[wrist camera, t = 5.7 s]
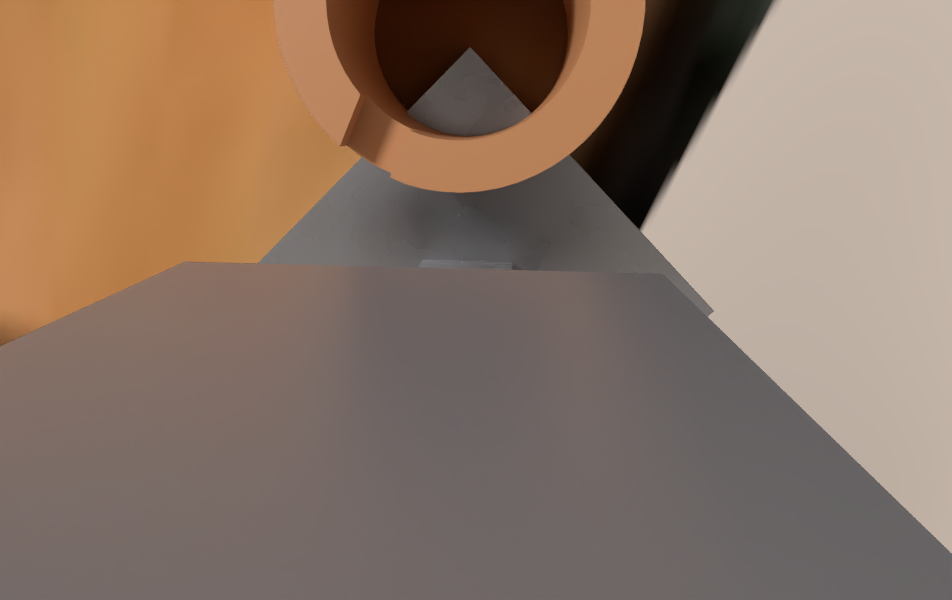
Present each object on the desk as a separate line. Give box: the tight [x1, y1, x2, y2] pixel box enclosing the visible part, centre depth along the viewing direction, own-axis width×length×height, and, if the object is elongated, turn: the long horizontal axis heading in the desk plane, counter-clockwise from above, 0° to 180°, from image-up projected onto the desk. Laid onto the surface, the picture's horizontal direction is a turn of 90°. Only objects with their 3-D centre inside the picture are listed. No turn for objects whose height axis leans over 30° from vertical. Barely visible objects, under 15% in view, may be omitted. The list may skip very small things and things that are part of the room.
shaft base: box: [258, 47, 713, 316], centre depth 22 cm, size 11×11×6 cm
